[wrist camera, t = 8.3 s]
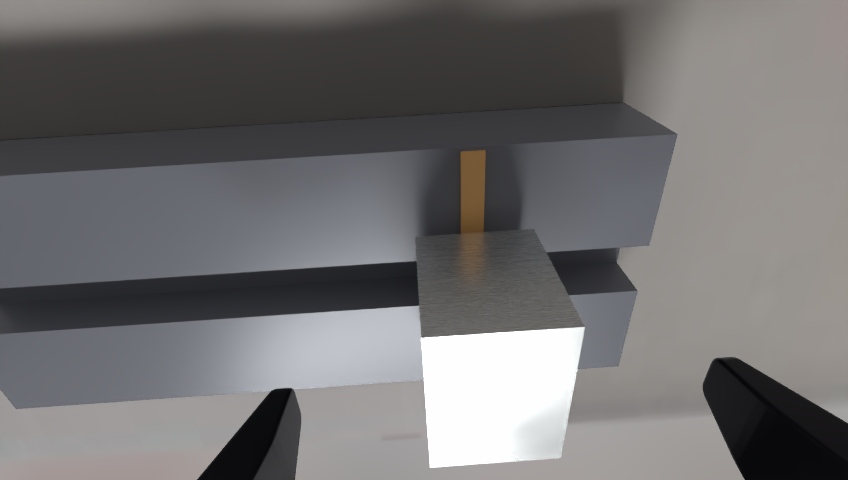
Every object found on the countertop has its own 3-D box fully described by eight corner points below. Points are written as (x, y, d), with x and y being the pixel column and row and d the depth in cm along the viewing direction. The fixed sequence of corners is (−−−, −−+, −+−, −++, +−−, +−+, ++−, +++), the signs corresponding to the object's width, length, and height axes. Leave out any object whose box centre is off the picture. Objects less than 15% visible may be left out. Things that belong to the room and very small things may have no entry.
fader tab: (420, 310, 15) (429, 467, 10) (412, 202, 13) (421, 338, 8) (509, 304, 15) (560, 457, 10) (516, 196, 13) (584, 326, 8)
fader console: (73, 343, 17) (13, 411, 15) (-52, 143, 13) (-167, 187, 10) (586, 308, 18) (619, 368, 15) (624, 102, 13) (679, 135, 11)
